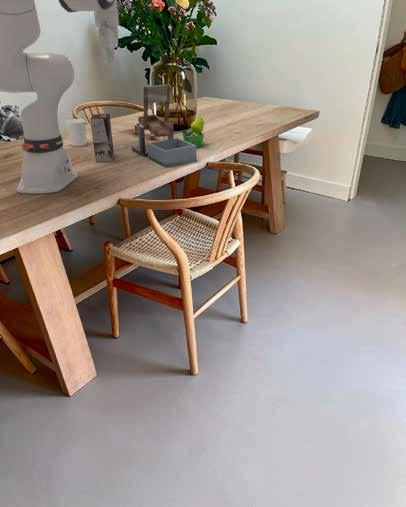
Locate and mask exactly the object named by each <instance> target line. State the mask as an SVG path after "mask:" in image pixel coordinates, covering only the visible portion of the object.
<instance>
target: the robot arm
mask: <svg viewBox="0 0 406 507" xmlns="http://www.w3.org/2000/svg"><path fill="white" fill-rule="evenodd" d="M58 3H59V5H60V6H61V8H63V10H64V11H66V12H67V13H78V12H93V17H94V26H95V27H96V28H97V27H98V42H99V49H100V50H101V51H105V54H106V56H107V61H108V63H113V62H114V61H115V59H114V55H115V54H114V49H115V48H117V47H118V46H119V31H118V29H119V28H118V27H120V21H119V12H118V8H117V0H58ZM40 35H41V26H40V22H39V17H38V11H37V6H36V3H35V0H0V92H3V93H11V94H17V93H35V94H36V96H37V97H36V100H35V101H33V102H31V103H29V104H28V105H26V106H25V107H23V109H22V110H21V112H20V122H21V125H22V131H23V136H24V137H23V143H21V148H22V149H21V150H23V151H25V152H24V155H23V159H22V160H23V161H22V165H21V169H20V171H21V174H20V175H21V177H20V180H19V183H18V184H17V187H16V192H17V193H19V194H20V193H22V194H30V195H31V194H49V193H57V192H61V191H62V190H63V189H65V188H66V187H67V186H68V185H70V184H71V183H72V182H73V181H75V180H76V179H77V178H78V177H79V175H78V172H74V170H73V166H72V160H71V157H70V153H69V152H68V151H67V150H66V149H65V148H64V141H63V140H64V139H63V136H62V134H61V133H60V127H59V116H58V110H59V104H60V102H61V99H62V97H63V95H64V94H65V92H67V91H68V90H69V89H70V88H71V86H72V85H73V83H74V81H75V70H74V66H73V64H72V62H71V60H69V58H68V57H67V56H66V55H63V54H60V53H59V54H58V53H52V52H34V53H33V52H30V53H29V52H25V51H24V50H26V49H27V48H29V47H30V46H32V45H33V44H35V43H36V42H37V41H38V40H39V38H40Z"/></svg>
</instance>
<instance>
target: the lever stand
mask: <svg viewBox="0 0 406 507" xmlns="http://www.w3.org/2000/svg"><path fill="white" fill-rule="evenodd" d="M168 124H169V125H170V126H172V127H173V128H174V123H172V122H168ZM137 132H138V142H139V143H138V145H136V146H132V147H131V151H132V152H133V153H135V154H136V155H139V156H141V157H143V158H148V146H147V144H146V139H145V137H146V135H145V130H144V128H143V126H140V127H137ZM174 132H175V130H173V134H171V135H169V136H167V140H168V139H174V138H175V136H174V135H175V134H174Z"/></svg>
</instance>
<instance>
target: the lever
mask: <svg viewBox="0 0 406 507" xmlns="http://www.w3.org/2000/svg"><path fill="white" fill-rule="evenodd" d="M170 92H171V85H170V84H168V83H167V84H159V85H157V84H156V85H147V86H146V85H145V86H143V115H141V116H138V118H137V119H138V120H137V121H138V124H139V125H141V127H143V128H144V131H148V132H149V133H151V134H152V135H153V136H155V137H156V138H162V137H168V136H169V135H171V134H173V131H174V126H173V127H172V126H170V125H169V124H168V123H169V120H170V119H169V117H170V114H169V113H170V94H171V93H170ZM157 103H158V104H159V103H164V115H163V116H164V117H163V118H164V119H162V118H161V117H160V116H158V115H157V114H150V115H149V105H150V104H157Z"/></svg>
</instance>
